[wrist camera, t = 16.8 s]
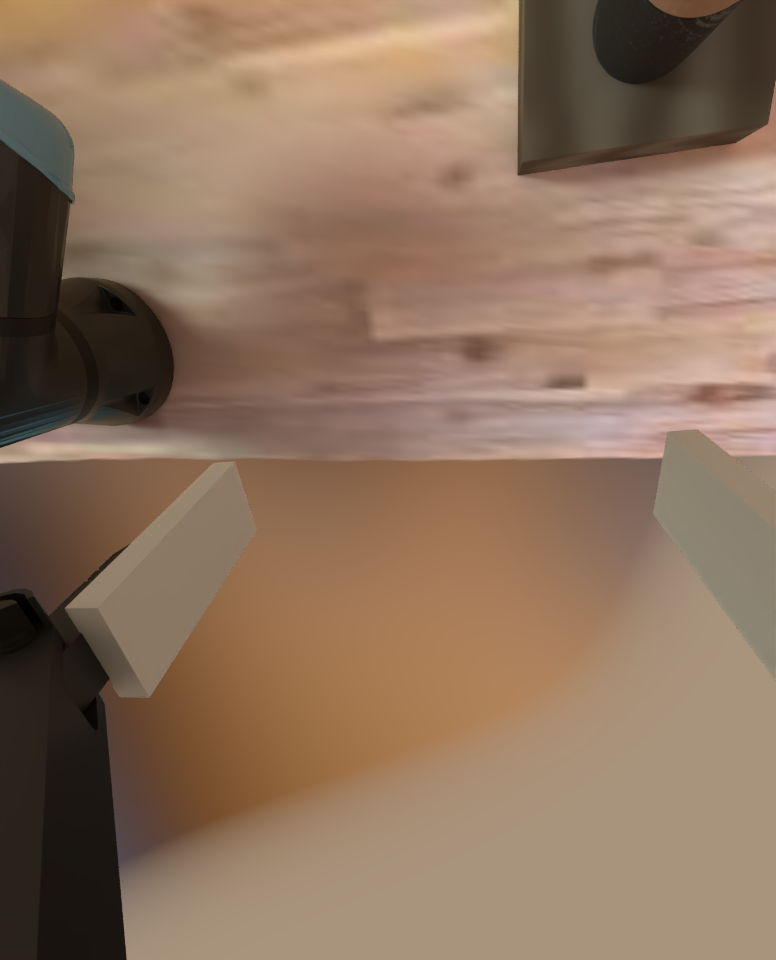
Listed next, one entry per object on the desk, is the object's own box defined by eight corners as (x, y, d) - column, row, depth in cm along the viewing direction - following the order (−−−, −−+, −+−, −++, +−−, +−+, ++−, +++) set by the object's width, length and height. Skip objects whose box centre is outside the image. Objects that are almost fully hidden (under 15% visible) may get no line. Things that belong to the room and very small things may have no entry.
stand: (517, 175, 37) (522, 161, 33) (520, -94, 31) (526, -145, 28) (735, 142, 34) (767, 123, 30) (782, -162, 28) (829, -230, 25)
